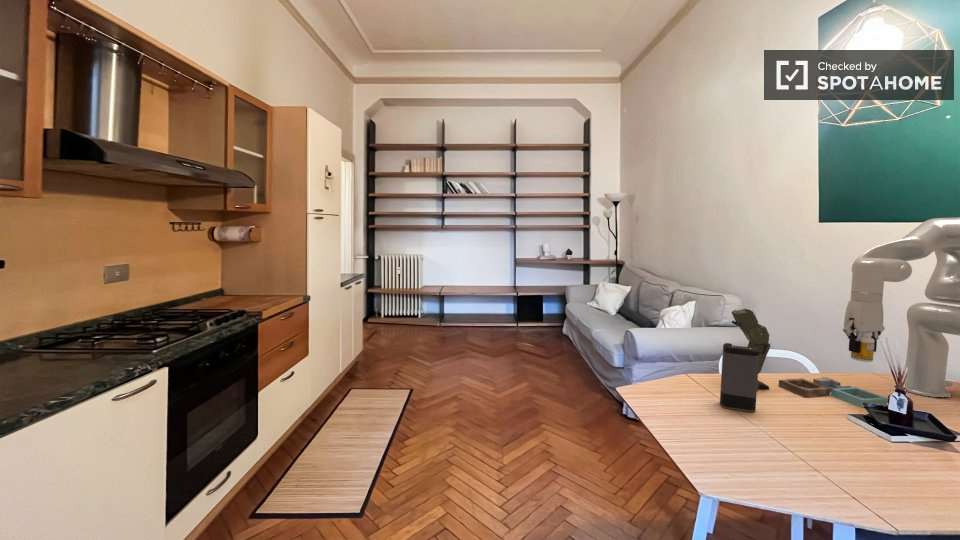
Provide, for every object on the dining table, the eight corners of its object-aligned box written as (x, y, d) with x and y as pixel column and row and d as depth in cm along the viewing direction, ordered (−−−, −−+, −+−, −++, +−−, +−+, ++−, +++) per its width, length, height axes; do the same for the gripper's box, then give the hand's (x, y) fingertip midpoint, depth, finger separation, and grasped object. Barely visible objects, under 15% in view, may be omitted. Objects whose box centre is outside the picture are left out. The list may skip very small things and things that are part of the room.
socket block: (801, 385, 146) (802, 378, 146) (829, 395, 137) (830, 388, 136) (778, 386, 145) (778, 379, 145) (804, 397, 135) (805, 390, 135)
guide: (837, 385, 146) (837, 381, 146) (851, 390, 141) (851, 386, 141) (809, 387, 144) (810, 383, 144) (823, 392, 139) (823, 388, 139)
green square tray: (854, 393, 138) (855, 386, 138) (888, 406, 129) (889, 398, 128) (830, 395, 137) (831, 388, 137) (863, 408, 127) (863, 400, 127)
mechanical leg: (770, 381, 148) (754, 303, 146) (782, 388, 140) (766, 307, 139) (731, 388, 149) (715, 311, 147) (742, 396, 142) (725, 315, 140)
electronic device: (752, 406, 128) (756, 345, 126) (756, 413, 123) (760, 350, 121) (719, 401, 132) (722, 342, 130) (721, 408, 127) (725, 346, 125)
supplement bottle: (846, 357, 134) (848, 329, 133) (860, 356, 135) (863, 328, 134) (862, 362, 129) (864, 333, 128) (877, 361, 129) (880, 332, 128)
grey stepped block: (823, 384, 145) (824, 376, 144) (836, 389, 140) (837, 381, 140) (809, 385, 144) (810, 377, 143) (822, 390, 139) (822, 382, 139)
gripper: (875, 294, 135) (871, 346, 137) (832, 296, 132) (828, 349, 134) (901, 298, 127) (896, 353, 129) (856, 300, 125) (852, 356, 127)
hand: (862, 350), depth 132 cm, fingers closed on supplement bottle, 5 cm apart
